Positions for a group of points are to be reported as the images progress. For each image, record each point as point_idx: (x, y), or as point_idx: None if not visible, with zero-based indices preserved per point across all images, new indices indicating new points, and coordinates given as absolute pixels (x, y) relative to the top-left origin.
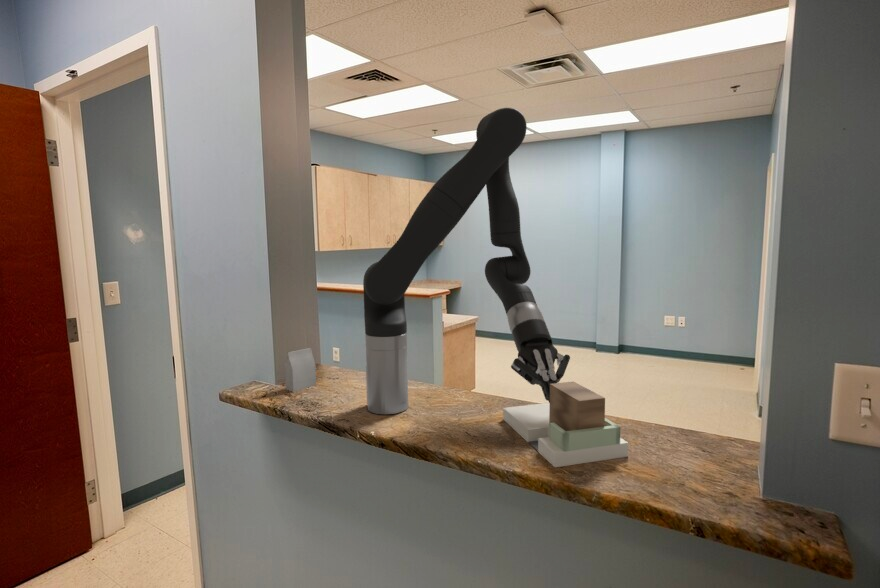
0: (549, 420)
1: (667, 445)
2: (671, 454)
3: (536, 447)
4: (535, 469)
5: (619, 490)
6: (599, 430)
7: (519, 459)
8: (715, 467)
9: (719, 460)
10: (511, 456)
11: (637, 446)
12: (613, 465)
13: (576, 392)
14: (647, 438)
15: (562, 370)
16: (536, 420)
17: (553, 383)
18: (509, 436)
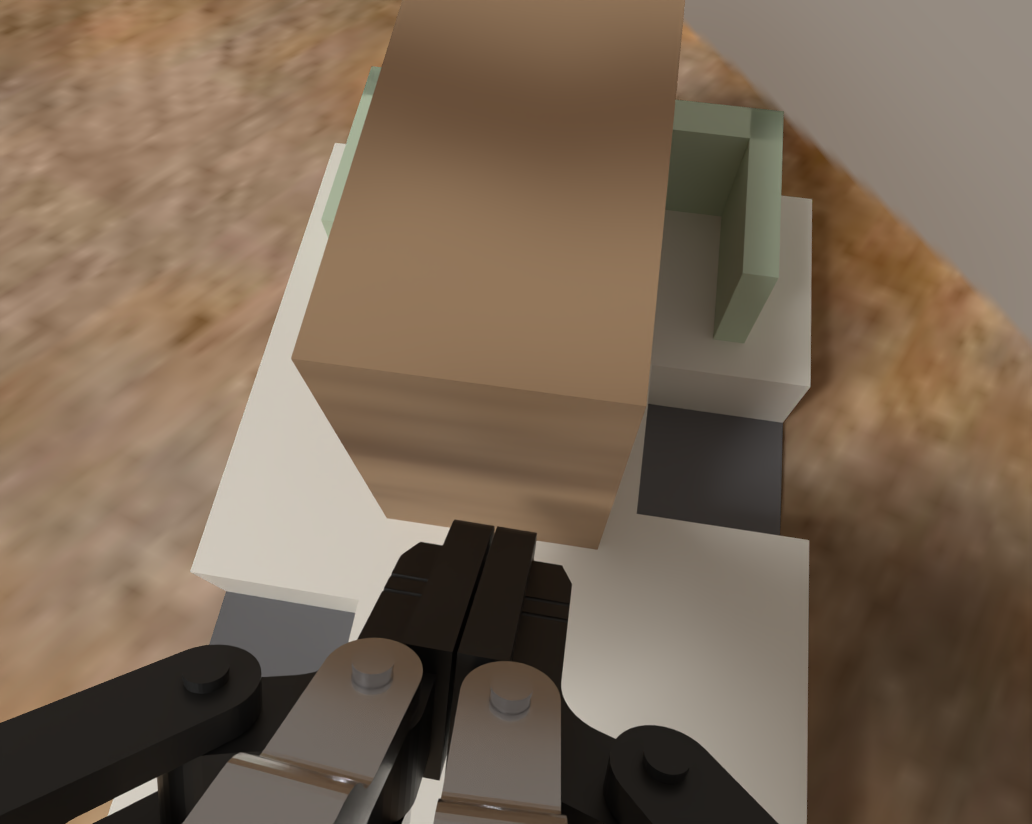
0: (600, 539)
1: (53, 209)
2: (144, 141)
3: (769, 464)
4: (893, 275)
5: None
6: None
7: (934, 395)
8: (114, 12)
9: (29, 39)
10: (969, 445)
11: (199, 259)
12: None
13: (557, 75)
14: (48, 307)
15: (106, 715)
16: (643, 682)
17: (430, 622)
18: (864, 729)
